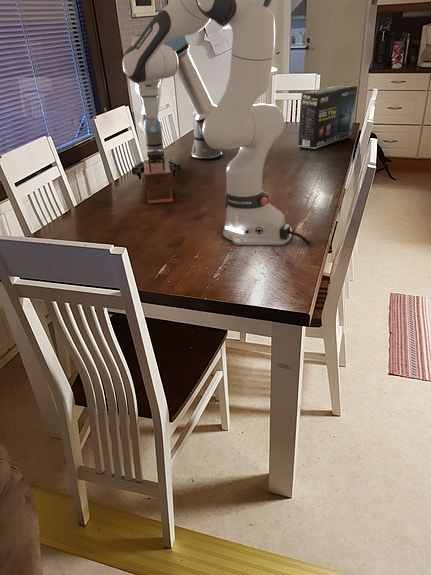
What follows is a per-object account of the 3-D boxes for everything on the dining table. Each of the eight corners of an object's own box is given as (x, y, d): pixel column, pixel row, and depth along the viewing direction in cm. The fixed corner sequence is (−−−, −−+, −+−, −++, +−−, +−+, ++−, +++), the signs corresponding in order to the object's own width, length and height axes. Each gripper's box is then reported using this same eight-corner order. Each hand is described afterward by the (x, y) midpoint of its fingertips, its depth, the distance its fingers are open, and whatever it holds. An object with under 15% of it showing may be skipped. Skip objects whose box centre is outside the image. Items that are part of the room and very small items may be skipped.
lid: (170, 175, 171) (168, 152, 167) (144, 177, 171) (141, 154, 166) (169, 164, 184) (167, 142, 179) (144, 166, 183) (142, 144, 178)
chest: (173, 201, 177) (170, 174, 172) (147, 203, 176) (144, 176, 171) (171, 189, 189) (169, 164, 184) (147, 191, 188) (144, 166, 183)
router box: (314, 151, 231) (318, 94, 217) (296, 148, 237) (299, 92, 224) (352, 138, 251) (358, 85, 238) (335, 135, 258) (340, 83, 245)
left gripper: (184, 166, 205) (188, 181, 187) (128, 170, 203) (126, 186, 184) (183, 149, 201) (187, 163, 183) (126, 153, 199) (124, 167, 181)
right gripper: (139, 83, 167) (144, 123, 174) (139, 91, 149) (144, 135, 156) (157, 82, 167) (160, 122, 174) (158, 90, 150) (162, 134, 157)
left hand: (156, 174), depth 184 cm, fingers open, 13 cm apart
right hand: (152, 128), depth 165 cm, fingers open, 8 cm apart
